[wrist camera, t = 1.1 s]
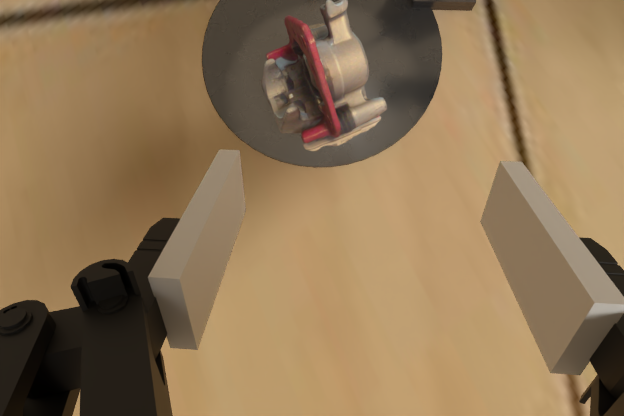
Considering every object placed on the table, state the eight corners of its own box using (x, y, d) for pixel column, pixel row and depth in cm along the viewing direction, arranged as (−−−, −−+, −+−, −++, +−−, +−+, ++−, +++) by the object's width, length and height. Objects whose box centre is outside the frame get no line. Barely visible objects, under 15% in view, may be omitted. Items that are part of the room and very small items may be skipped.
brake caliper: (222, 64, 37) (282, -47, 28) (310, 65, 44) (382, -24, 35) (268, 171, 35) (349, 91, 26) (353, 155, 42) (440, 86, 33)
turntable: (441, -51, 41) (441, -53, 41) (441, 172, 37) (442, 171, 37) (214, -55, 42) (213, -56, 42) (191, 162, 38) (190, 161, 38)
